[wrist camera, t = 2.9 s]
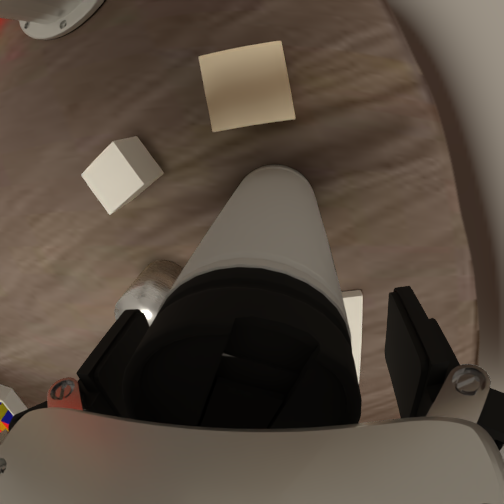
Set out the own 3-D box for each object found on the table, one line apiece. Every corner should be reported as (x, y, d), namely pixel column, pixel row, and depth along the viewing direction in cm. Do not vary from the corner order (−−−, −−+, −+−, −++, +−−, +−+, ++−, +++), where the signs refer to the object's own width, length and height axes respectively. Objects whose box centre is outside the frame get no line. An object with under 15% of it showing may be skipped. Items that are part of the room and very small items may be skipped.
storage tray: (-36, 370, 50) (-43, 379, 46) (12, 388, 45) (2, 400, 42) (26, 446, 63) (21, 455, 59) (84, 469, 58) (79, 480, 54)
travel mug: (225, 230, 26) (115, 454, 8) (248, 153, 23) (108, 303, 5) (297, 253, 26) (297, 502, 8) (327, 179, 23) (423, 392, 5)
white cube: (106, 165, 25) (80, 174, 21) (137, 135, 23) (112, 141, 20) (132, 200, 26) (109, 215, 22) (164, 173, 25) (144, 184, 21)
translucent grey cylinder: (136, 262, 28) (105, 296, 23) (184, 257, 27) (159, 293, 22) (152, 307, 30) (127, 345, 25) (198, 304, 29) (179, 345, 24)
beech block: (216, 67, 21) (198, 56, 16) (282, 55, 20) (281, 40, 15) (228, 128, 23) (212, 132, 18) (294, 118, 22) (295, 119, 17)
